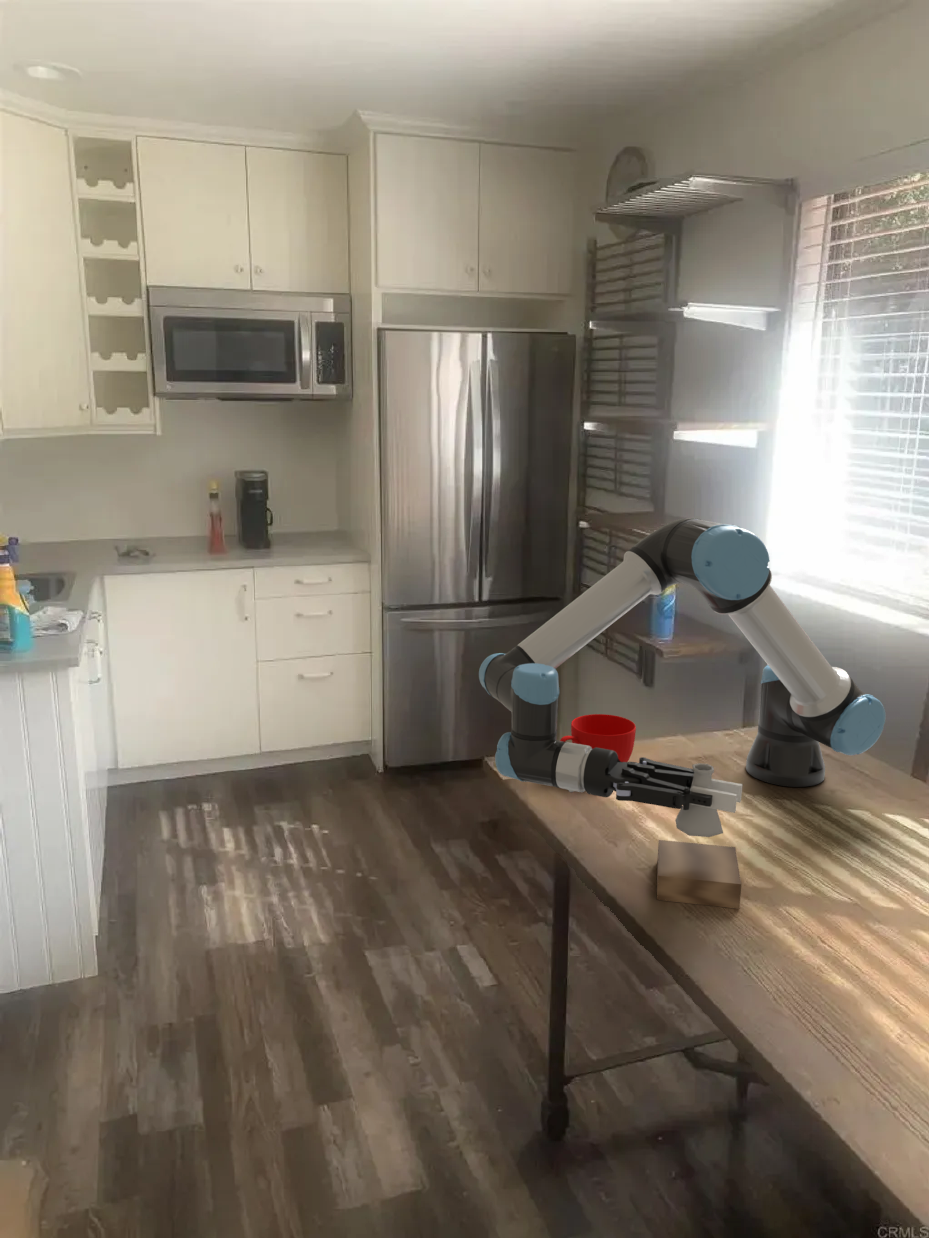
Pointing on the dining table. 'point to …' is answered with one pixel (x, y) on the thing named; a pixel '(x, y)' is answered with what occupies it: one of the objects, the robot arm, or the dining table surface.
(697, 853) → the plinth
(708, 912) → the dining table surface
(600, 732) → the ceramic cup
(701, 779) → the flask
